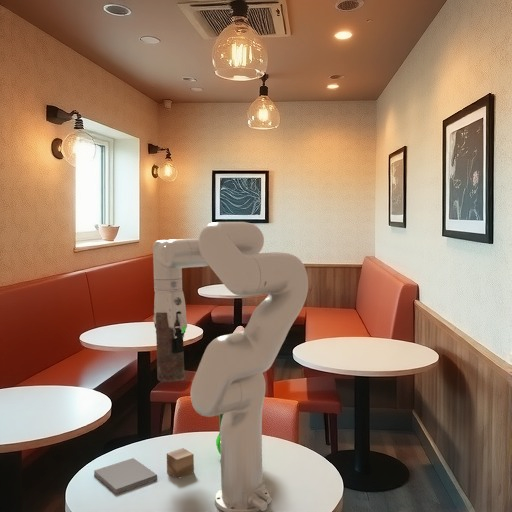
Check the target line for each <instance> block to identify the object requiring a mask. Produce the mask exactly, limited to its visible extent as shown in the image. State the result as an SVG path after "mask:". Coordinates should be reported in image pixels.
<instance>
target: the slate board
mask: <svg viewBox="0 0 512 512" xmlns="http://www.w3.org/2000/svg"><path fill="white" fill-rule="evenodd" d="M93 474H94V476H95V477H96V478H97V477H98V478H99V479H100V481H101V482H102V483H103V484H104V485H105V486H106V487H107V488H108V489H110V490H111V491H112V492H114V493H115V494H116V495H118V494H121V493H123V492H126V491H129V490H131V489H134V488H137V487H140V486H142V485H145V484H148V483H151V482H153V481H154V482H155V481H157V480H158V474H157V473H156V472H154V471H153V470H151V469H150V468H149V467H147V466H145V465H144V464H142V463H141V462H140V461H138V460H137V459H135V458H134V457H132V458H129V459H126V460H122V461H120V462H116V463H113V464H110V465H108V466H103V467H100V468H97V469H95V470H93ZM98 478H97V479H98Z"/></svg>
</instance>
